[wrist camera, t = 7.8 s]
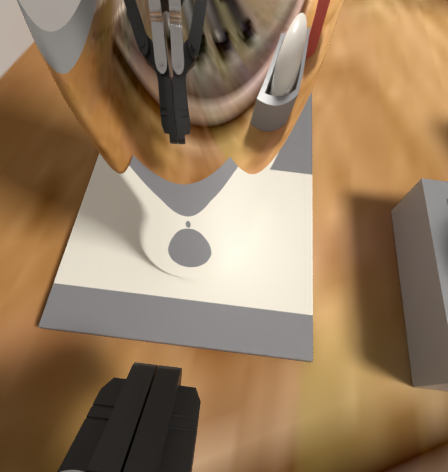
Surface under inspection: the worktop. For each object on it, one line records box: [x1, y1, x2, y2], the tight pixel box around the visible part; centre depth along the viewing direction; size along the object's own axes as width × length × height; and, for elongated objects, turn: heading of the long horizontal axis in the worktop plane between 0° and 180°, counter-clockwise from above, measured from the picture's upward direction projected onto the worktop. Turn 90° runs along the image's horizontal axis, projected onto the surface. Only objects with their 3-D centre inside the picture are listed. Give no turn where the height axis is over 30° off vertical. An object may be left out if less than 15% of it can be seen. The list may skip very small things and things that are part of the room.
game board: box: [38, 92, 313, 362], centre depth 21 cm, size 12×28×1 cm, turn 174°
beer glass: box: [17, 0, 344, 279], centre depth 11 cm, size 7×7×15 cm
